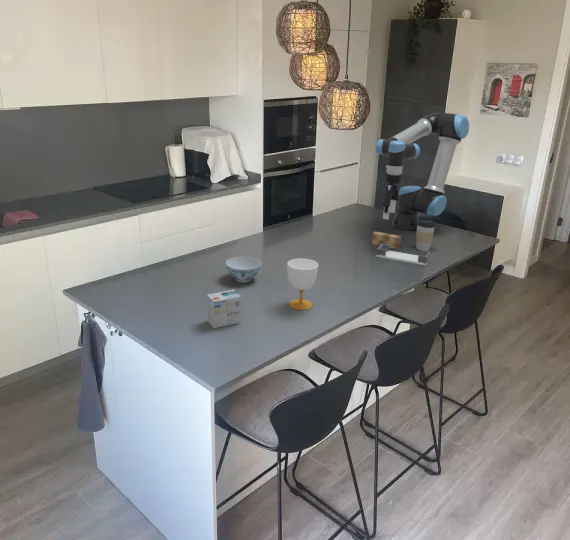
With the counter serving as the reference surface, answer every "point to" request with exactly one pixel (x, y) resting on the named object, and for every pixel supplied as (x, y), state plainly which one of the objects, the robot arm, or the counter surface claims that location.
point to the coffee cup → (424, 234)
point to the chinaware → (243, 268)
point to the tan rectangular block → (386, 239)
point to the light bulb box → (224, 308)
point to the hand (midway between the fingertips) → (388, 215)
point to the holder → (403, 255)
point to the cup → (301, 279)
